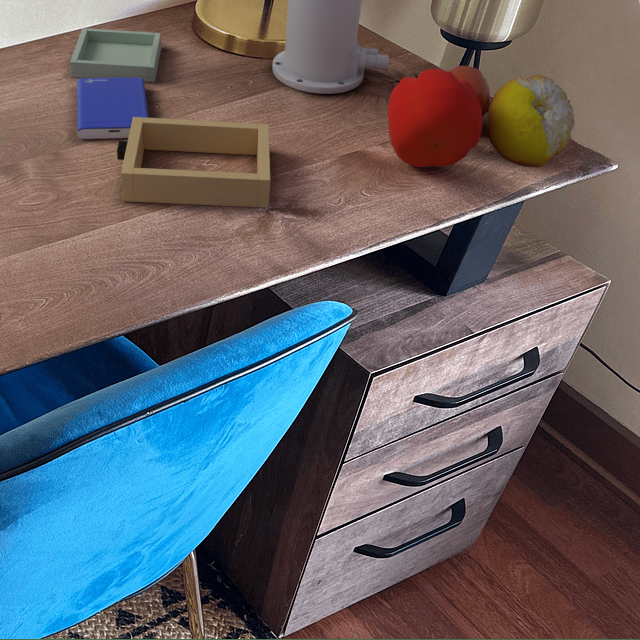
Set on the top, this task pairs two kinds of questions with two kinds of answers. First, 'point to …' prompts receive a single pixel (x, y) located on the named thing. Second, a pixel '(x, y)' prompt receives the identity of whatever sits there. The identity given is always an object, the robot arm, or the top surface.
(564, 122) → the fruit
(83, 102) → the hard drive
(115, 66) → the tray
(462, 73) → the tomato
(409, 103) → the tomato
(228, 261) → the top surface
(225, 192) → the tan rectangular bin
